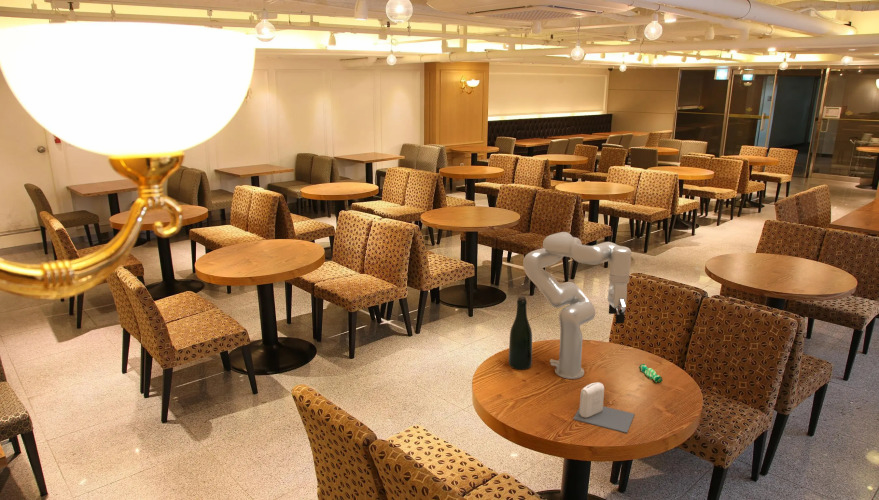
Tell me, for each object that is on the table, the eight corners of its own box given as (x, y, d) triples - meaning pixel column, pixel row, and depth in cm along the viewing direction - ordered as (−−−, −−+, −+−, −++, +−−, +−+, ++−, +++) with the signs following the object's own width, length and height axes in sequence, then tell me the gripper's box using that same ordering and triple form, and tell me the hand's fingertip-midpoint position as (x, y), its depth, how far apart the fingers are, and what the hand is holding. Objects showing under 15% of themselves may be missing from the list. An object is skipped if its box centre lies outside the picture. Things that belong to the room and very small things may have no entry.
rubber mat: (573, 419, 224) (573, 418, 224) (583, 402, 236) (583, 401, 236) (627, 433, 215) (627, 432, 215) (634, 414, 227) (634, 413, 227)
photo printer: (595, 406, 232) (597, 378, 229) (604, 411, 229) (606, 382, 225) (577, 414, 227) (579, 385, 223) (585, 419, 223) (587, 390, 220)
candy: (637, 369, 260) (642, 362, 260) (642, 372, 261) (647, 365, 261) (653, 382, 249) (658, 374, 249) (658, 385, 250) (664, 377, 250)
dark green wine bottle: (504, 366, 266) (505, 298, 257) (515, 357, 275) (516, 291, 265) (525, 372, 261) (527, 303, 251) (535, 363, 269) (538, 295, 260)
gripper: (603, 271, 239) (601, 310, 243) (615, 285, 222) (612, 327, 227) (622, 270, 239) (619, 310, 243) (635, 285, 222) (632, 326, 227)
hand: (616, 318), depth 235 cm, fingers open, 9 cm apart
